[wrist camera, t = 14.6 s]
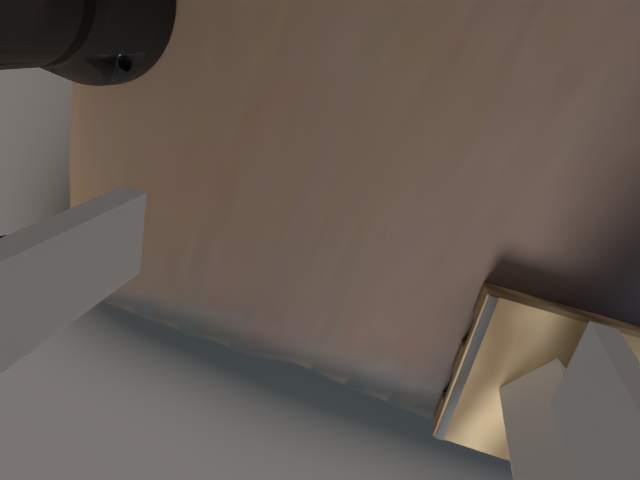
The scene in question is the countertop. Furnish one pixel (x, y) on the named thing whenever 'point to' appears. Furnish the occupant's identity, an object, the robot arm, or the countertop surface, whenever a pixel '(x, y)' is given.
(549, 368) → the milk
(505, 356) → the dock
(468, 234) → the countertop surface
